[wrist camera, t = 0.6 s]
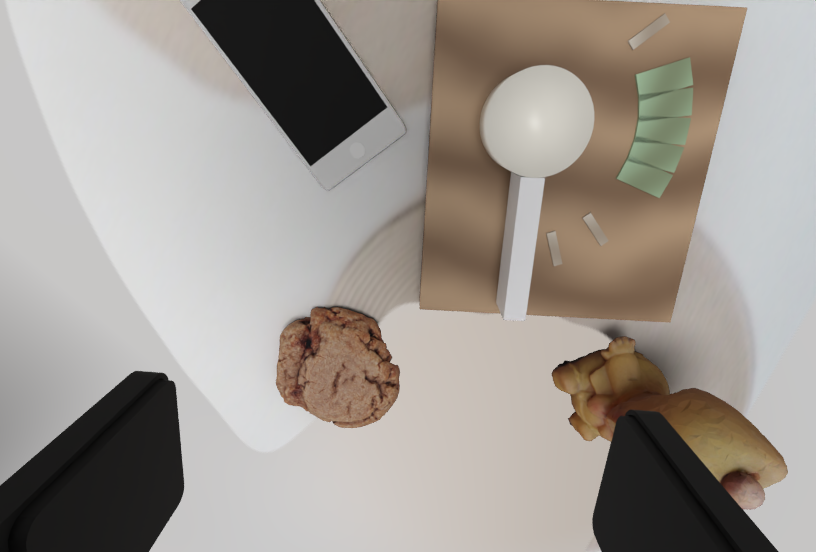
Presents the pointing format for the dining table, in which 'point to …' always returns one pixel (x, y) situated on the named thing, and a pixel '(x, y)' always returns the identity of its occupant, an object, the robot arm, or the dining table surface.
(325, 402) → the cookie
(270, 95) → the smartphone
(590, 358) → the figurine
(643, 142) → the tuner board
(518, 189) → the peg dial
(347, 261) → the dining table surface
